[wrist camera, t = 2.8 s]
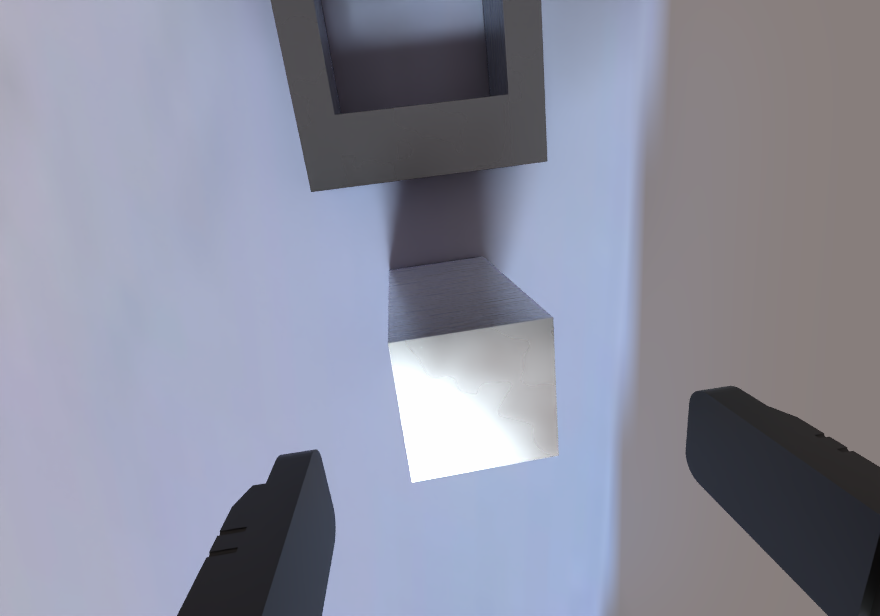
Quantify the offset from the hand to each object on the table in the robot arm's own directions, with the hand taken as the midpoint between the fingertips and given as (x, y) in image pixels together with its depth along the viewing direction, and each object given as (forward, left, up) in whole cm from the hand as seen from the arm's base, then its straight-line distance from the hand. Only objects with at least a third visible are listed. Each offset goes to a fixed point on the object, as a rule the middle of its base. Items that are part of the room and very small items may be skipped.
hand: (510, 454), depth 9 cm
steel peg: (0, 0, -10) cm, 10 cm away
